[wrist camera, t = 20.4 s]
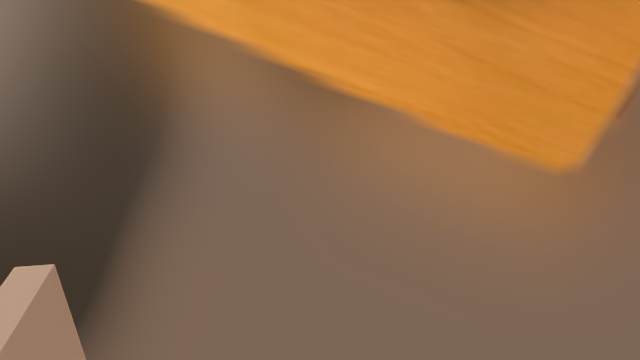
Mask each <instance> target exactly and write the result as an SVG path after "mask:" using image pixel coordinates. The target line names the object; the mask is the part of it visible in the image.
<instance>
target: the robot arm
mask: <svg viewBox="0 0 640 360" xmlns="http://www.w3.org/2000/svg"><path fill="white" fill-rule="evenodd" d="M0 360H86V359H85V356H84V353H83V349H82V347H81V343H80V340H79V337H78V335H77V331H76V328H75V325H74V323H73V319H72V316H71V313H70V310H69V307H68V304H67V301H66V298H65V295H64V292H63V289H62V286H61V283H60V280H59V277H58V274H57V271H56V268H55V265H54V264H53V265H39V266H25V267H15V268H14V269H13V270H12V272H11V273H10V274H9V276H8V277H7V279H6V280H5V281H4V283H3V284H2V285H1V287H0Z"/></svg>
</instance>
